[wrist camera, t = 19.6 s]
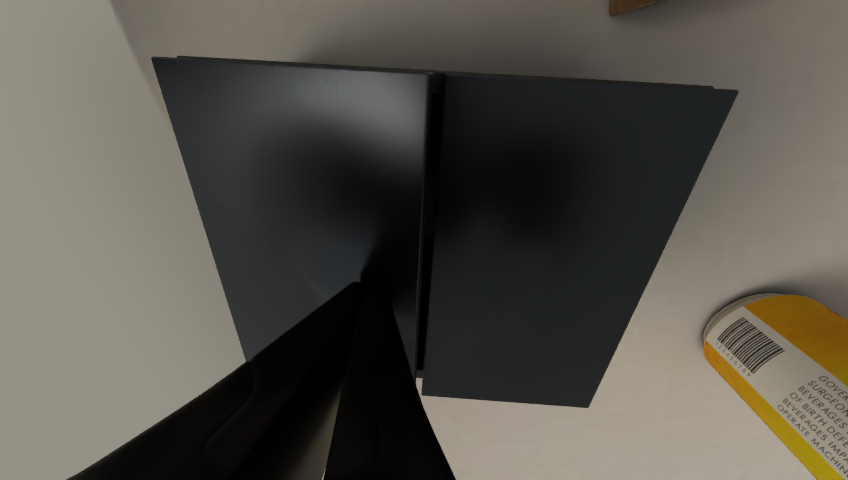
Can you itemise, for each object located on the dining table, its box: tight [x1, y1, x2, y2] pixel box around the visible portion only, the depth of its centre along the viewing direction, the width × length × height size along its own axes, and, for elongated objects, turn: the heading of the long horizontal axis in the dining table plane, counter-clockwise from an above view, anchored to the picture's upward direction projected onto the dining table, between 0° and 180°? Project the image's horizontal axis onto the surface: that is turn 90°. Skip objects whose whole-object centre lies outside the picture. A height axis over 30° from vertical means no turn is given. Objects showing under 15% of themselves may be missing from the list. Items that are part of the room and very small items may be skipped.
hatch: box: [151, 57, 433, 384], centre depth 9 cm, size 6×11×1 cm, turn 177°
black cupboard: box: [177, 56, 739, 408], centre depth 13 cm, size 13×11×7 cm
